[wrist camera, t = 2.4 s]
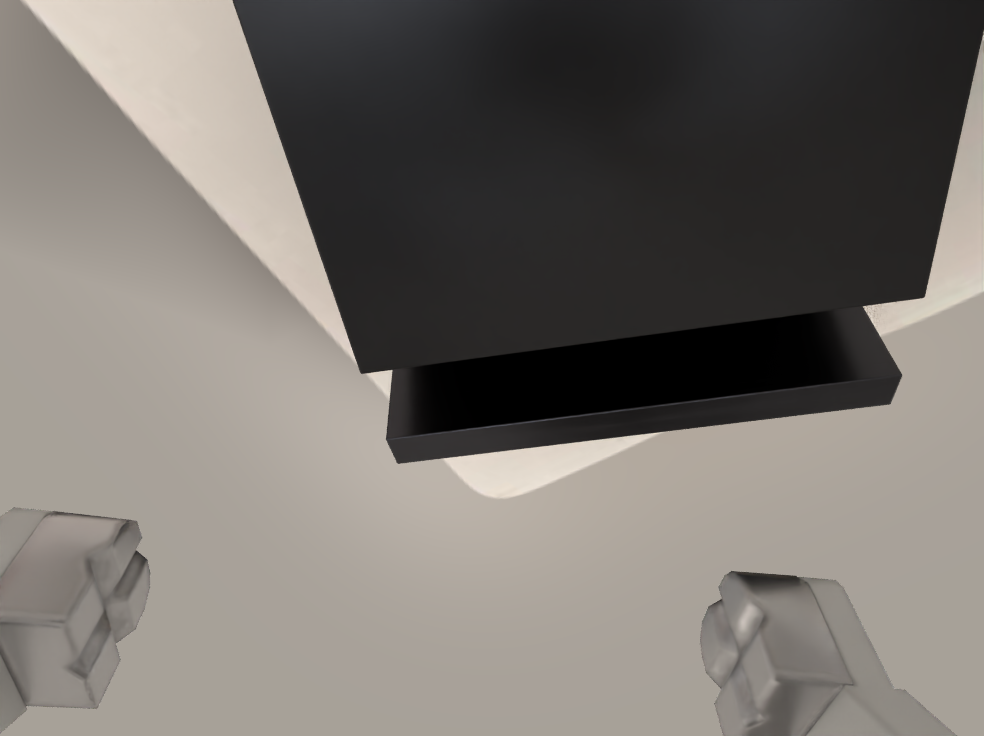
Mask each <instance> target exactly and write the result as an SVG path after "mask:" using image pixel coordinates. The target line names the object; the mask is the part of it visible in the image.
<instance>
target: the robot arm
mask: <svg viewBox="0 0 984 736" xmlns="http://www.w3.org/2000/svg"><path fill="white" fill-rule="evenodd" d="M141 539H142V536H141V532H140V529H139V526H138V523H137V521H133V520H126V519H117V518H108V517H100V516H90V515H82V514H73V513H64V512H55V511H44V510H34V509H24V508H13V509H11V510H9V511H8V512H6V513H5V514H3V515H2V516H1V517H0V733H1V732H2V731H3V730H5V728H7V727H8V726H9V725H10V724H12V723H13V722H14V721H15V720H16V719H17V718H18V717H19V716H20V715H22V714H23V713H24V712H25V711H26V710H27V708H26V706H43V707H69V708H93V709H97V708H98V706H99V704H100V702H101V700H102V697H103V695H104V693H105V691H106V689H107V687H108V685H109V683H110V681H111V679H112V677H113V675H114V672H115V670H116V669H117V666H118V664H119V662H120V656H119V653H118V649H117V646H116V643H117V642H119V641H120V640H121V639H123V638H124V637H125V636H127V635H128V634H130V633H131V632H132V631H133V630H135V629H136V627H137V625H138V622H139V620H140V617H141V616H142V613H143V611H144V609H145V605H146V600H147V597H148V593H149V589H150V569H149V565H148V560H147V559H146V558H145V557H143V556H142V555H141V554H140V553H139V552H138V551H136V548H137V546H138V545H139V543H140V541H141ZM719 591H720V594H721V597H722V599H721V600H719V601H717V602H716V603H714V604H712V605H711V606H709V607H708V609H707V611H706V614H705V616H704V618H703V621H702V627H701V637H700V643H701V652H702V658H703V662H704V666H705V670H706V673H707V674H708V675H709V676H710V677H711V678H712V679H713V681H714V682H715V683H716V684H717V685H718V686H719V687H720V688H721V690H720V692H719V694H718V697H717V699H716V701H715V703H714V704H715V707H716V711H717V715H718V718H719V722H720V726H721V729H722V733H723V736H956V735H955V734H954V733H953V732H952V731H951V730H950V729H949V728H947V727H946V726H945V725H944V724H943V723H942V722H941V721H940V720H938V719H937V718H936V717H935V716H934V715H933V714H932V713H930V712H929V711H928V710H927V709H926V708H925V707H924V706H923V705H921V704H920V703H919V702H918V701H917V700H916V699H915V698H914V697H912V696H911V695H910V694H909V693H908V692H907V691H906V690H901V689H894V687H893V685H892V683H891V681H890V679H889V677H888V675H887V673H886V671H885V669H884V667H883V665H882V663H881V661H880V659H879V657H878V655H877V653H876V651H875V649H874V647H873V645H872V643H871V641H870V639H869V637H868V636H867V633H866V631H865V629H864V627H863V626H862V624H861V621H860V619H859V617H858V616H857V613H856V611H855V609H854V608H853V605H852V603H851V602H850V599H849V598H848V595H847V594H846V592H845V590H844V588H843V587H842V586H841V585H840V584H839V583H838V582H837V581H836V580H828V579H817V578H804V577H797V576H790V575H776V574H762V573H749V572H735V571H731V572H729V573H728V574H727V575H725V576H724V578H723V580H722V581H721V583H720V585H719Z"/></svg>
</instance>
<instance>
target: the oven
mask: <svg viewBox="0 0 984 736" xmlns="http://www.w3.org/2000/svg"><path fill="white" fill-rule="evenodd" d="M233 3H234V6H235V9H236V12H237V15H238V18H239V21H240V24H241V26H242V29H243V32H244V35H245V38H246V41H247V44H248V47H249V50H250V53H251V56H252V59H253V61H254V64H255V67H256V70H257V73H258V76H259V79H260V82H261V85H262V88H263V91H264V93H265V96H266V99H267V102H268V105H269V108H270V111H271V114H272V117H273V120H274V123H275V126H276V128H277V131H278V134H279V137H280V140H281V143H282V146H283V149H284V152H285V155H286V158H287V160H288V163H289V166H290V169H291V172H292V175H293V178H294V181H295V184H296V187H297V190H298V193H299V195H300V198H301V201H302V204H303V207H304V210H305V213H306V216H307V219H308V222H309V225H310V227H311V230H312V233H313V236H314V239H315V242H316V245H317V248H318V251H319V254H320V257H321V260H322V262H323V265H324V268H325V271H326V274H327V277H328V280H329V283H330V286H331V289H332V292H333V294H334V297H335V300H336V303H337V306H338V309H339V312H340V315H341V318H342V321H343V324H344V327H345V329H346V332H347V335H348V338H349V341H350V344H351V347H352V350H353V353H354V356H355V359H356V361H357V364H358V367H359V370H360V373H361V374H365V373H372V372H379V371H387V370H394V369H402V368H409V367H416V366H424V365H431V364H438V363H446V362H453V361H461V360H468V359H475V358H483V357H490V356H498V355H505V354H512V353H520V352H527V351H535V350H542V349H549V348H557V347H564V346H572V345H579V344H586V343H594V342H601V341H609V340H616V339H623V338H631V337H638V336H646V335H653V334H660V333H668V332H675V331H683V330H690V329H697V328H705V327H712V326H720V325H727V324H734V323H742V322H749V321H757V320H764V319H771V318H779V317H786V316H794V315H801V314H808V313H816V312H823V311H831V310H838V309H845V308H853V307H860V306H868V305H875V304H882V303H890V302H897V301H905V300H912V299H919V298H924V297H925V294H926V289H927V285H928V280H929V276H930V271H931V267H932V262H933V258H934V253H935V249H936V244H937V239H938V235H939V230H940V226H941V221H942V217H943V212H944V208H945V203H946V199H947V194H948V190H949V185H950V181H951V176H952V172H953V167H954V163H955V158H956V153H957V149H958V144H959V140H960V135H961V131H962V126H963V122H964V117H965V113H966V108H967V104H968V99H969V95H970V90H971V86H972V81H973V76H974V72H975V67H976V63H977V58H978V54H979V49H980V45H981V40H982V36H983V31H984V0H233Z"/></svg>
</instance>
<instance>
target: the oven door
mask: <svg viewBox="0 0 984 736" xmlns="http://www.w3.org/2000/svg"><path fill="white" fill-rule="evenodd" d="M901 377H902V374H901V372H900V370H899V369H898V367H897V365H896V363H895V362H894V360H893V358H892V356H891V355H890V353H889V351H888V350H887V348H886V346H885V344H884V343H883V341H882V339H881V337H880V336H879V334H878V332H877V331H876V329H875V327H874V325H873V324H872V322H871V320H870V318H869V317H868V315H867V313H866V311H865V310H864V308H863V306H860V307H853V308H845V309H838V310H831V311H823V312H816V313H808V314H801V315H794V316H786V317H779V318H771V319H764V320H757V321H749V322H742V323H734V324H727V325H720V326H712V327H705V328H697V329H690V330H683V331H675V332H668V333H660V334H653V335H646V336H638V337H631V338H623V339H616V340H609V341H601V342H594V343H586V344H579V345H572V346H564V347H557V348H549V349H542V350H535V351H527V352H520V353H512V354H505V355H498V356H490V357H483V358H475V359H468V360H461V361H453V362H446V363H438V364H431V365H424V366H416V367H409V368H402V369H394V370H393V371H392V382H391V393H390V403H389V415H388V426H387V435H386V440H387V442H388V445H389V447H390V449H391V451H392V453H393V455H394V457H395V459H396V462H397V463H398V464H400V463H408V462H417V461H425V460H433V459H441V458H450V457H458V456H466V455H475V454H483V453H491V452H499V451H508V450H516V449H524V448H533V447H541V446H549V445H557V444H566V443H574V442H582V441H590V440H599V439H607V438H615V437H624V436H632V435H640V434H648V433H657V432H665V431H673V430H681V429H690V428H698V427H706V426H714V425H723V424H731V423H739V422H748V421H756V420H764V419H772V418H781V417H789V416H797V415H805V414H814V413H822V412H831V411H839V410H847V409H855V408H864V407H871V406H880V405H887V404H888V405H889V404H891V401H892V399H893V397H894V394H895V392H896V390H897V387H898V385H899V382H900V379H901Z"/></svg>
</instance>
